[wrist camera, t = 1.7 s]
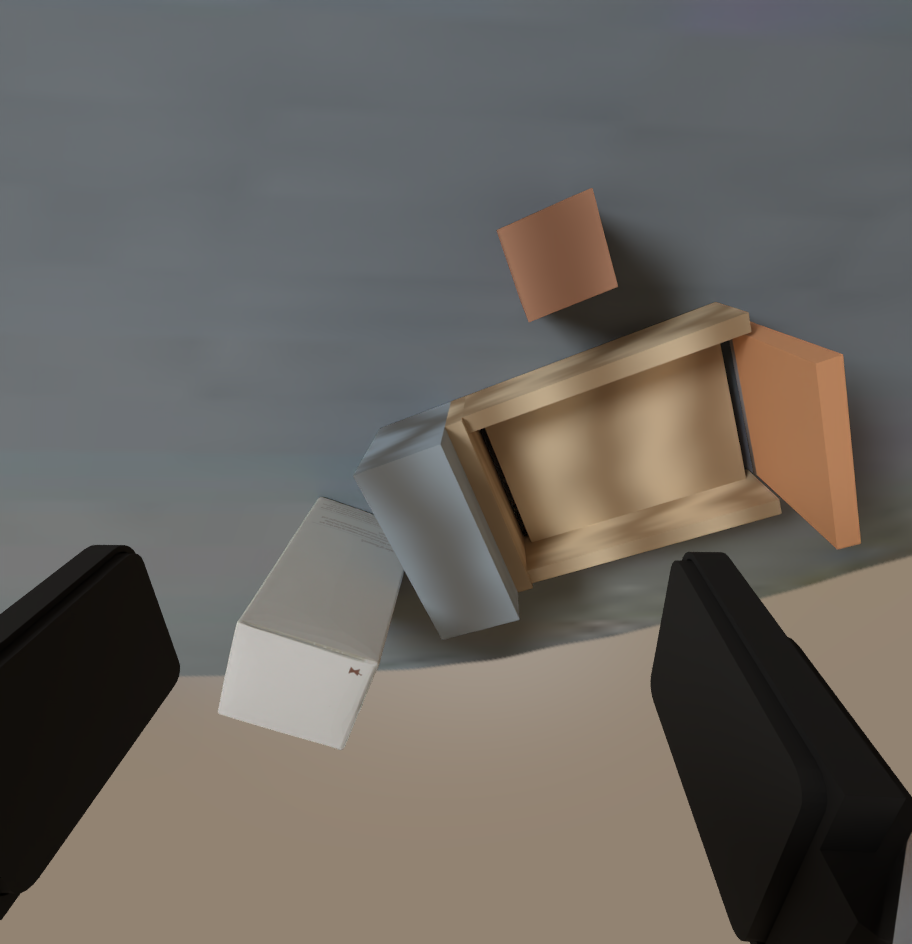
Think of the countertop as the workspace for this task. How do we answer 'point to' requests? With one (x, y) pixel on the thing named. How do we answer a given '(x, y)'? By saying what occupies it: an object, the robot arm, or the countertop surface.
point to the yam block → (558, 255)
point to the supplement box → (315, 629)
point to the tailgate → (799, 427)
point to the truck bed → (565, 469)
